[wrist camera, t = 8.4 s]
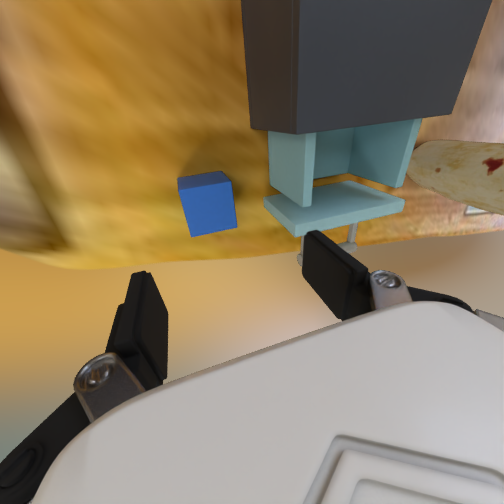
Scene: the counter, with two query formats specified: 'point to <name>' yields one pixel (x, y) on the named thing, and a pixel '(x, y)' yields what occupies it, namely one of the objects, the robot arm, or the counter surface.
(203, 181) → the blue cube
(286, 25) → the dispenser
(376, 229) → the counter surface
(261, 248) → the counter surface
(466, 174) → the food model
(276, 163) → the teal drawer
